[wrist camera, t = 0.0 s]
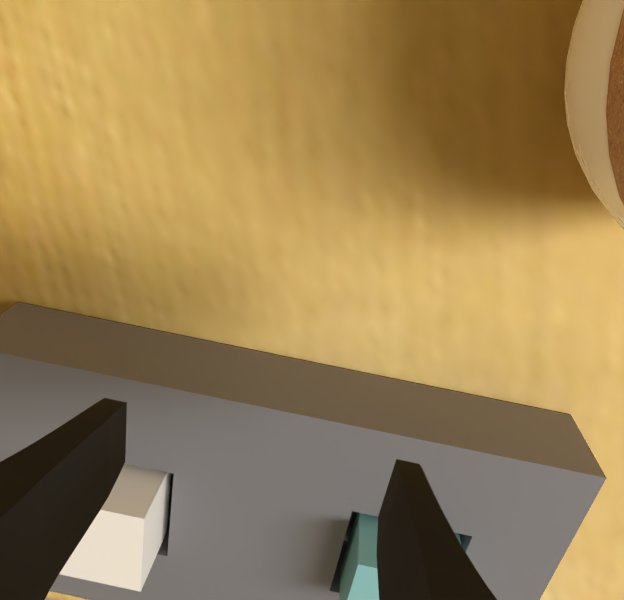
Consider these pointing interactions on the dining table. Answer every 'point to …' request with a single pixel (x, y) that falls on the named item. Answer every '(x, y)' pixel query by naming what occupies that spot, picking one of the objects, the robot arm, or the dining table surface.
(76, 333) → the panel
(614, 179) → the lidded bowl
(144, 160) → the dining table surface
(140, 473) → the white key
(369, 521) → the teal key
